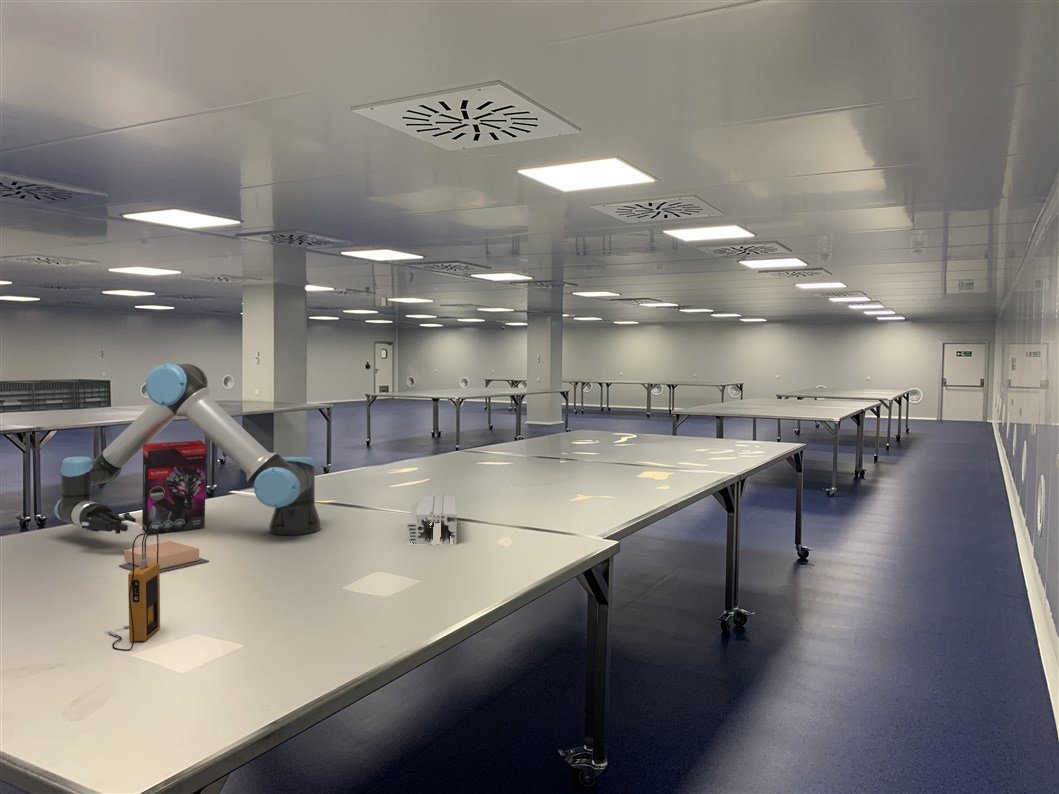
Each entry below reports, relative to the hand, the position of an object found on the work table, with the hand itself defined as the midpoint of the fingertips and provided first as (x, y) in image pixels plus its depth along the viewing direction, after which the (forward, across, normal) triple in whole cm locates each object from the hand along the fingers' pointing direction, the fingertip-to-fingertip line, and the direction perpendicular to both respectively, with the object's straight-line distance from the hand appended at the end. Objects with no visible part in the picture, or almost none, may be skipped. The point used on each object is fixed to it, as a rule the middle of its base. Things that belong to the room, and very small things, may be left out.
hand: (136, 529), depth 193 cm
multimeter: (+55, +31, -7) cm, 63 cm away
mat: (+12, -1, -7) cm, 14 cm away
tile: (+4, -1, -5) cm, 7 cm away
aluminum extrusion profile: (+45, -68, -5) cm, 81 cm away
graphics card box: (-23, -24, -8) cm, 34 cm away
